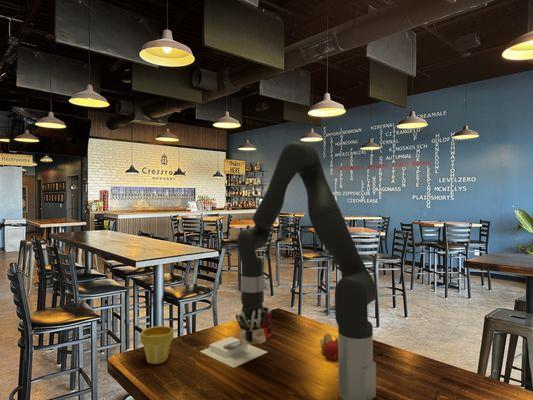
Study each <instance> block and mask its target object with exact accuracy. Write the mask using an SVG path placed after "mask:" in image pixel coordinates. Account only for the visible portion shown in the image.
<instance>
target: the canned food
mask: <svg viewBox="0 0 533 400" xmlns="http://www.w3.org/2000/svg"><path fill="white" fill-rule="evenodd" d="M265 307H266V308H268V312H267V316H266V319H265V322H264V325H261V326H260V328H259V329H264V334H265V338H266V340H268V339H270V338H271V337H272V308H270V307H269V306H265ZM261 320H262V318H261ZM252 330H253V327H252Z"/></svg>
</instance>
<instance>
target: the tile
mask: <svg viewBox="0 0 533 400" xmlns="http://www.w3.org/2000/svg"><path fill="white" fill-rule="evenodd" d="M238 340H239V338H236V337H234V336H229V337H227V338H224V339H220V340H219V341H218V340H217V341H215V342H213V343H210V344H209V348H210V350H211V351H213V352H215V353H217V354H219V355H221V356H223V357H226V358H227V357H229V356H232V355H234V354H236V353H239V352H241V351H243V350H246V349H248V344H247V345H240V346H237V347H228V348H223V346H224V345H227V344H230V343H232V342H235V341H238Z"/></svg>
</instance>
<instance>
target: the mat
mask: <svg viewBox="0 0 533 400" xmlns="http://www.w3.org/2000/svg"><path fill="white" fill-rule="evenodd" d="M199 352H200V353H202V354H204V355H206V356H208V357H210V358H213V359H214V360H217V361H219V362H220V363H222V364H224V365H227V366H229V367H231V368H237V367H238V366H241V365H243V364H245V363H247V362H249V361H252V360H254V359H255V358H258V357H260V356H263V355H264V354H268V351H267V350H263V349H261V348H259V347H256V346H254V345H253V344H248V349H246V350H243V351H241V352H239V353H236V354H234V355H232V356H229V357H227V358H226V357H223V356H221V355H219V354H217V353H215V352H213V351H211V350H210V347H208V348H205V349H203V350H200V351H199Z"/></svg>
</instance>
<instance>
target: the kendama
mask: <svg viewBox="0 0 533 400" xmlns="http://www.w3.org/2000/svg"><path fill="white" fill-rule="evenodd" d="M319 341H320V347H321V353H322V355H325V356H326V358H328V359H329V360H337V359H338V337H337V338H335V340H334V339H333V338H332V335H331V333H325V334H324V335H323V338H321V339H319Z"/></svg>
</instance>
